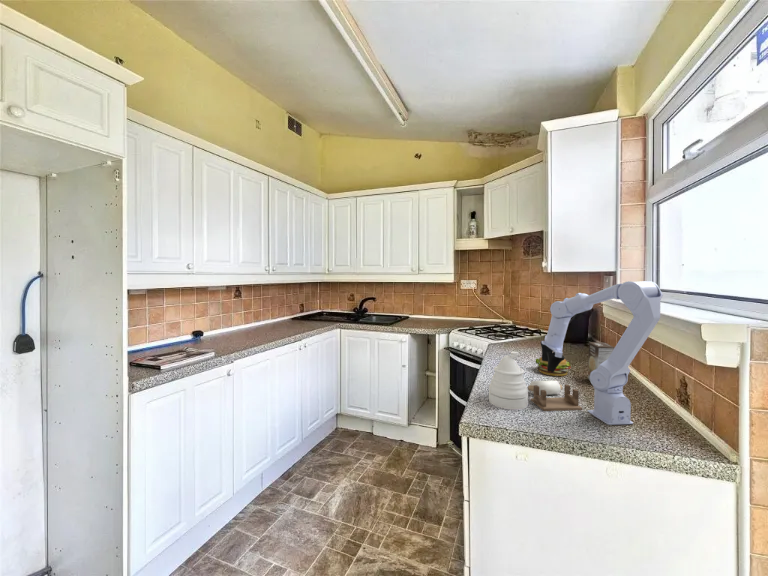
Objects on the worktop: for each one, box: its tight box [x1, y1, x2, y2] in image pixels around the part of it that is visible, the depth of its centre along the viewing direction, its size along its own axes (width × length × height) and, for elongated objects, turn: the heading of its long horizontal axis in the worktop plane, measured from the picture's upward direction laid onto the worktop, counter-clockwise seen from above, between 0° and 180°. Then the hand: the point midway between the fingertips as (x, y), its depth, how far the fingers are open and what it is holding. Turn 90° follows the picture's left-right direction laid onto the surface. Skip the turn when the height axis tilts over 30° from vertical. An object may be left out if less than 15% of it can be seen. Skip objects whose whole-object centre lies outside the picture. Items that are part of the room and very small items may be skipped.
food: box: [535, 356, 572, 377], centre depth 148 cm, size 14×14×8 cm
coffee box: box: [587, 341, 615, 381], centre depth 134 cm, size 9×6×16 cm
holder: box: [529, 384, 583, 412], centre depth 112 cm, size 9×13×6 cm
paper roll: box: [527, 380, 563, 396], centre depth 123 cm, size 5×12×5 cm, turn 93°
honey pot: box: [488, 351, 529, 411], centre depth 115 cm, size 13×13×18 cm
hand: (547, 365), depth 123 cm, fingers open, 7 cm apart
